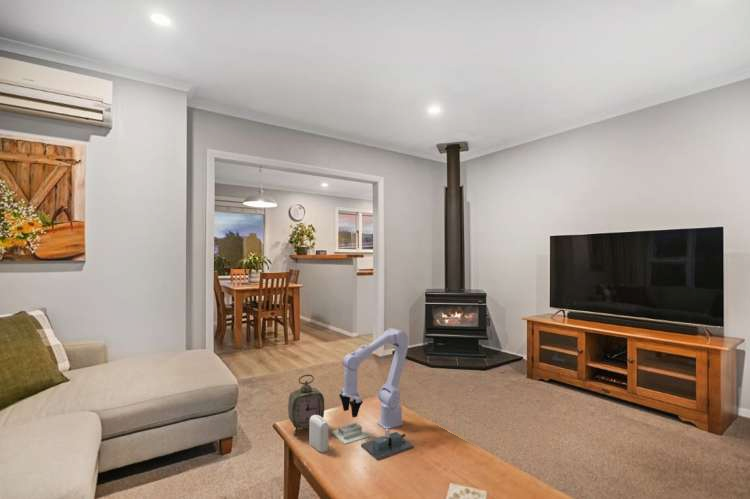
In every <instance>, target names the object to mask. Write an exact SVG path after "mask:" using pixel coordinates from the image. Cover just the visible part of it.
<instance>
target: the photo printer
mask: <svg viewBox="0 0 750 499" xmlns="http://www.w3.org/2000/svg"><path fill="white" fill-rule="evenodd" d="M308 429H309V430H308V431H309V433H308V434H309V435H308V436H309V439H308V441H309V442H308V443H309V444H310V446H312V447H313V448H314V449H315V450H317V451H318V452H320V453H325V452H327V451H328V450H329V423H328V422H327V420H326V419H325V418H324V417H323V418H322V417H321V416H319V415H313V416H311V418H310V421H309V427H308Z"/></svg>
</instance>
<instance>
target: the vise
mask: <svg viewBox="0 0 750 499" xmlns="http://www.w3.org/2000/svg"><path fill="white" fill-rule="evenodd" d="M384 429H385V428H384ZM390 429H391V428H386V429H385V431H384V432H385V436H383V435H382V436H379V437H376V438H373V439H372V440H370V441H367V442H364V443H361V446H360V447H361V448H362V449H364V450H365V452H367V453H368V454H369V455H371V456H372V457H373V458H374V459H375V460H376V461H380V460H382V459H385V458H388V457H390V456H393V455H396V454H399V453H403V452H405V451H407V450H410V449H414V446H415V444H413V443H411V442H410V441H408V440H407V439H406V436H407V435H406V433H403V434H400V433H399V432H397V431H395V432H391V430H390Z"/></svg>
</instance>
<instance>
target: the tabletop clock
mask: <svg viewBox="0 0 750 499" xmlns="http://www.w3.org/2000/svg"><path fill="white" fill-rule="evenodd" d="M305 377H311V378H312V380H311V381H307V380H305V381H304V382H301V379H302V378H305ZM314 379H315V377H314V375H312V374H310V373H309V374H303V375H301V376H300V377H299V379H298V383H299V384H300V385H301V387H300V389H297V390H293V391H291V392H290V393H289V397H288V401H287V402H288V403H287V411H288V412H287V413H288V419H289V420H290V422H291V424H292V425H293V427H294V428H295V430H294V431H293V433H292V434H293V436H297V435H298V431H297V430H298V429H304V428H305V429H306V428H309V421H310V418H311V416H313V415H319V416H321V417H322V418H324V416H325V399H324V395H323V393H322V392H321V391H320V390H319V389H318V388H316V387H312V386H311V385H310V384H312V382H314Z"/></svg>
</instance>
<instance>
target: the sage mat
mask: <svg viewBox="0 0 750 499" xmlns="http://www.w3.org/2000/svg"><path fill="white" fill-rule="evenodd" d="M331 434H333V436H334V437H336V438H337V440H339V441H340V442H341V443H342V444H343V445H348V444H350V443H353V442H358V441H360V440H365V439H367V438H369V437H370V436H369V435H368V434H367V433H366V432H364V431H363V430H362V434H358V435H355V436H352V437H349V438H346V439H343V438H342V437H341V436H340V435H338V429H336V430H333V431H331Z"/></svg>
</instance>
